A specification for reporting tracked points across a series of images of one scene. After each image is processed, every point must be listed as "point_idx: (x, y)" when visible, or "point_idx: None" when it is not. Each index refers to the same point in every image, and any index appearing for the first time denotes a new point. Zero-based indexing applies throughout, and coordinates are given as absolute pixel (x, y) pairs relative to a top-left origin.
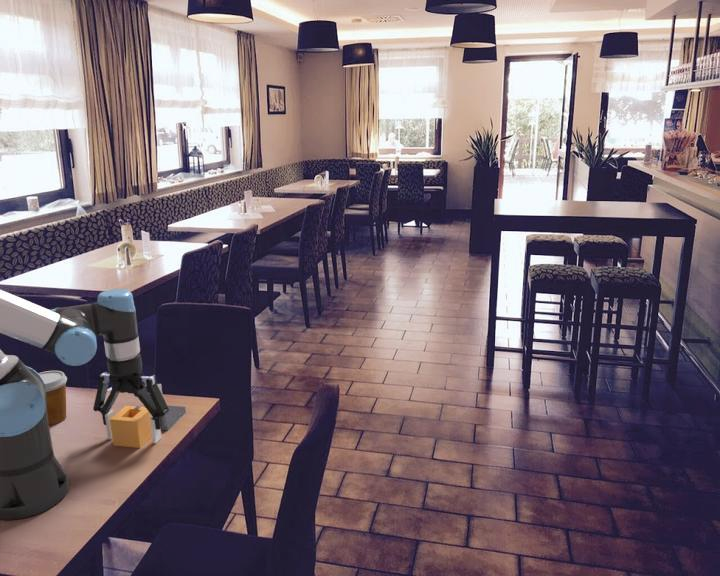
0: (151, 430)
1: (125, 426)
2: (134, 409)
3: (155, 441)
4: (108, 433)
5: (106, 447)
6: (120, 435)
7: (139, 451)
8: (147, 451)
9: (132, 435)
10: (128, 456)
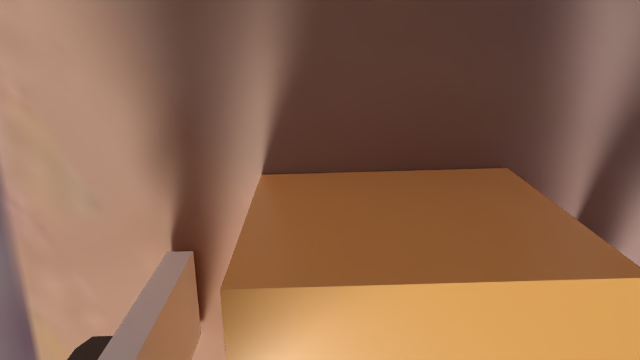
0: (160, 308)
1: (400, 246)
2: None
3: (164, 258)
4: None
5: (552, 131)
6: (454, 201)
7: (237, 126)
8: (171, 138)
9: (320, 210)
10: (284, 35)
